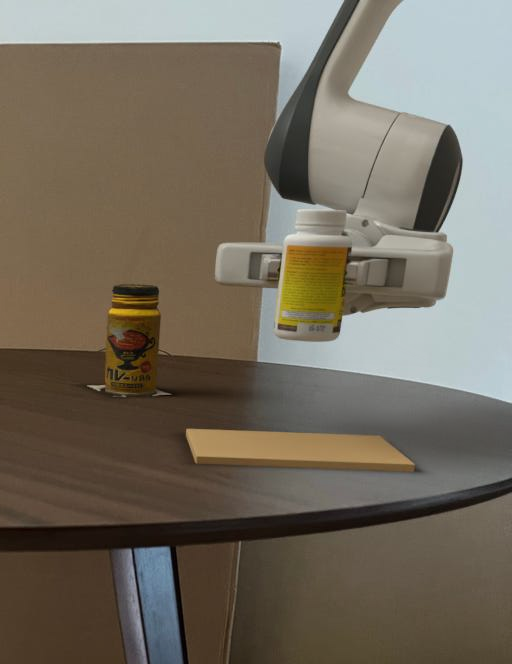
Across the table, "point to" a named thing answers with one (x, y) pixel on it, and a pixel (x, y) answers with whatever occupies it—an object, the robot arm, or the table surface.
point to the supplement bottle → (313, 277)
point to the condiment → (132, 342)
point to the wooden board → (296, 450)
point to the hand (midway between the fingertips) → (312, 271)
